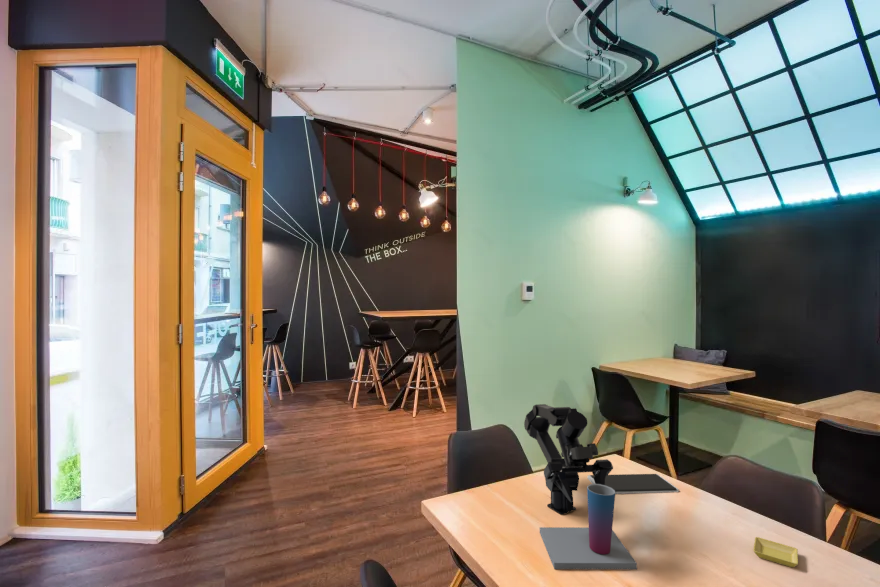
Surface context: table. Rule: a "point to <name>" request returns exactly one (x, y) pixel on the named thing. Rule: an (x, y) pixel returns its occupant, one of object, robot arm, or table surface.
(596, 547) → the cup
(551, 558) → the board
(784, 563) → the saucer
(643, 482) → the black tablet
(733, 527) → the table surface
